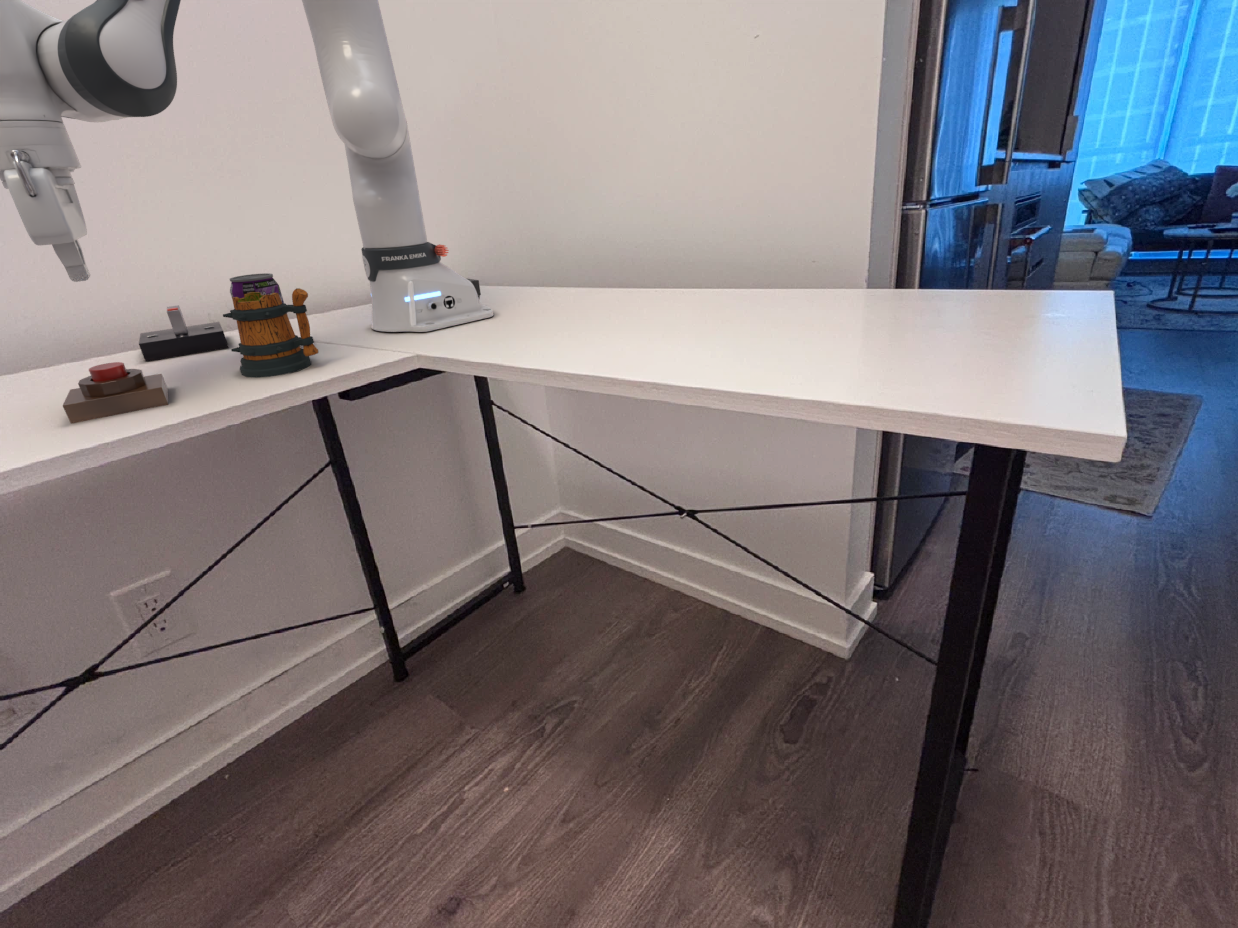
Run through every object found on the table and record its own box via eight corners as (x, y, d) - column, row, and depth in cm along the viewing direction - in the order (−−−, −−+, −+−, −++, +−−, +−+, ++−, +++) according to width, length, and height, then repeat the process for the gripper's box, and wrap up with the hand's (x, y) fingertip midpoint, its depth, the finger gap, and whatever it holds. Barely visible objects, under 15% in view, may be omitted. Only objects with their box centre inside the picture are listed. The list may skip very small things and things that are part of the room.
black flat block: (224, 337, 115) (218, 320, 113) (228, 348, 107) (222, 329, 106) (146, 350, 109) (139, 332, 108) (145, 361, 101) (138, 342, 100)
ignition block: (168, 390, 86) (157, 362, 84) (168, 404, 80) (156, 374, 78) (77, 406, 81) (64, 377, 79) (70, 424, 75) (56, 392, 73)
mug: (223, 378, 90) (195, 297, 85) (267, 358, 99) (245, 284, 94) (306, 377, 88) (283, 294, 83) (343, 357, 97) (325, 281, 92)
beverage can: (277, 356, 100) (254, 279, 95) (239, 355, 102) (215, 280, 96) (305, 344, 106) (285, 272, 101) (269, 344, 108) (248, 273, 103)
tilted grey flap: (175, 329, 108) (166, 305, 107) (187, 328, 109) (178, 303, 107) (175, 335, 104) (166, 310, 102) (187, 333, 105) (178, 308, 103)
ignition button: (129, 373, 81) (124, 360, 81) (128, 379, 79) (122, 366, 78) (95, 379, 80) (89, 365, 79) (93, 385, 77) (87, 372, 76)
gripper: (50, 146, 64) (109, 284, 70) (70, 157, 79) (116, 269, 85) (-31, 149, 60) (37, 293, 66) (5, 160, 76) (58, 276, 82)
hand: (81, 280), depth 76 cm, fingers closed
